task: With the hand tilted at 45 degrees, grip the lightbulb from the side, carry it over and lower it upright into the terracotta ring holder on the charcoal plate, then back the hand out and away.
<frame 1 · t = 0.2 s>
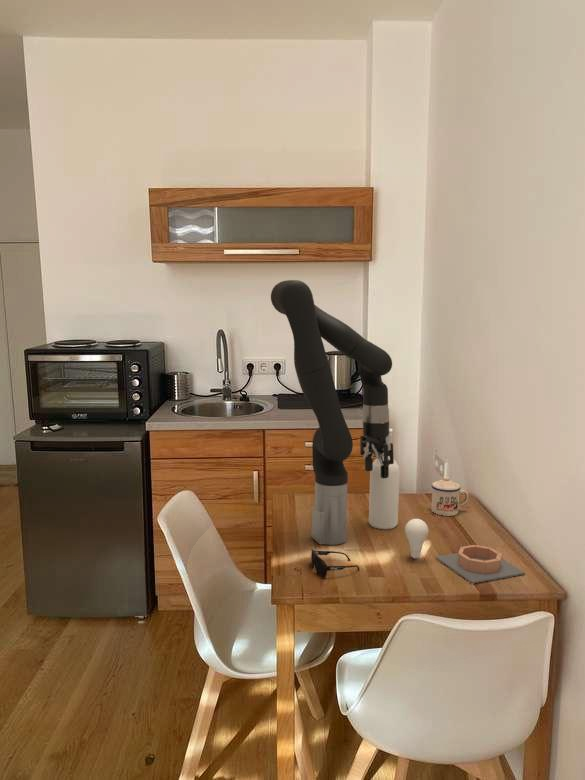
hand: (376, 474, 185), 18 cm above the table, tool pointing down, fingers open, 8 cm apart
lightbulb: (415, 559, 171), on the table
alcohol: (383, 525, 196), on the table
teacup with lid: (449, 512, 208), on the table
sunglasses: (334, 570, 165), on the table
ring holder: (479, 566, 167), on the table
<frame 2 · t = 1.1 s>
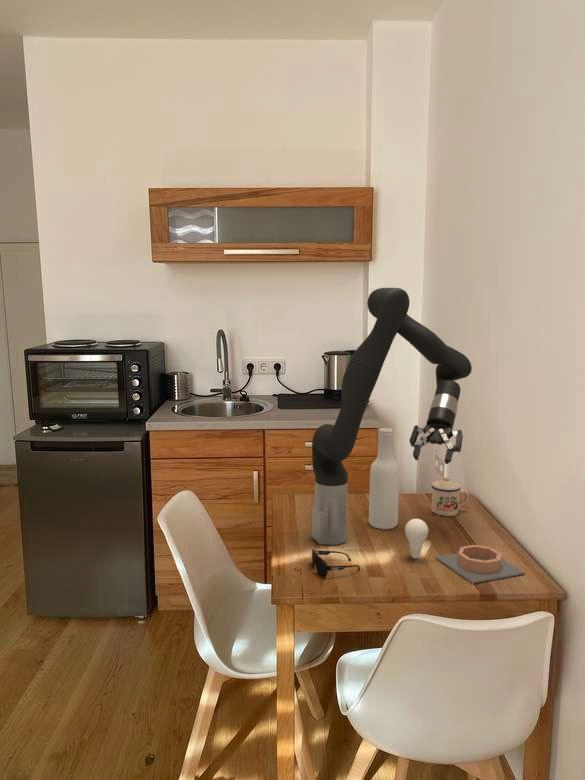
hand: (431, 460, 178), 24 cm above the table, tool tilted 45°, fingers open, 8 cm apart
nothing on the table moved.
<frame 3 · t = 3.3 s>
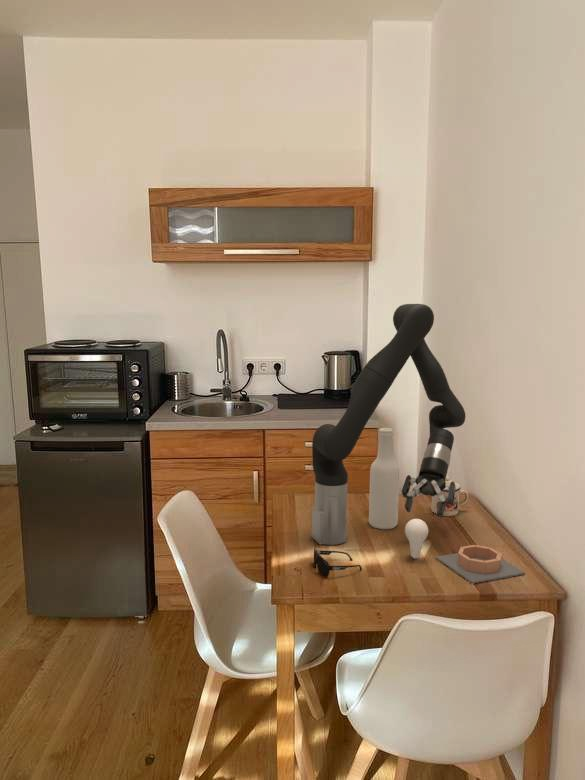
hand: (423, 513, 175), 11 cm above the table, tool tilted 45°, fingers open, 8 cm apart
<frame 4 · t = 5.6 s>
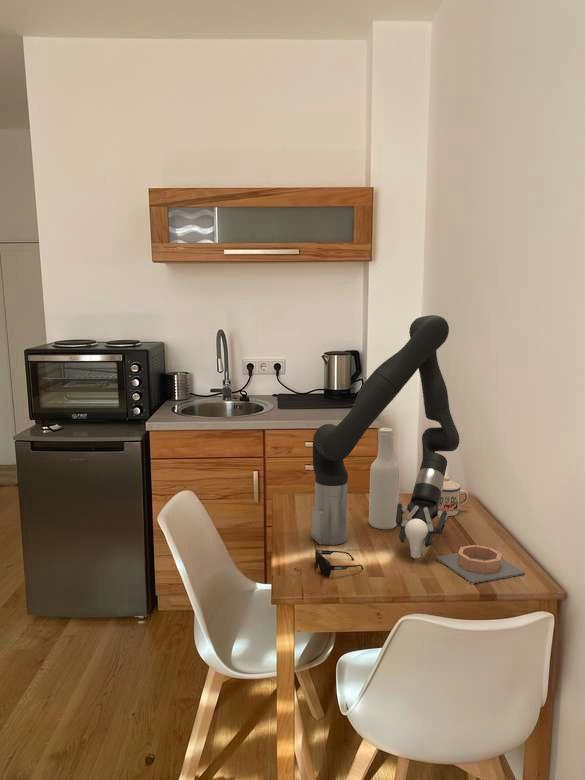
hand: (414, 543, 169), 5 cm above the table, tool tilted 45°, fingers closed on lightbulb, 6 cm apart
lightbulb: (415, 559, 171), on the table, touching gripper
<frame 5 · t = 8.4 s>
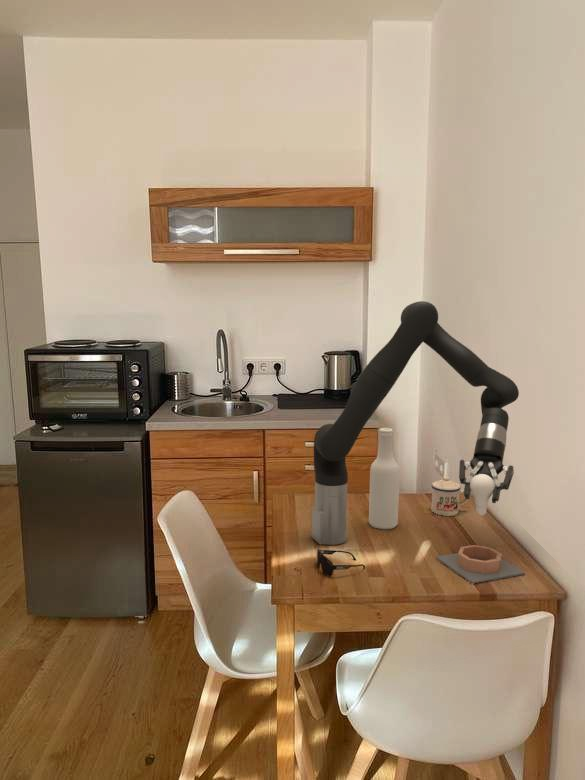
hand: (480, 499, 163), 19 cm above the table, tool tilted 45°, fingers closed on lightbulb, 6 cm apart
lightbulb: (480, 516, 165), point 14 cm above the table, touching gripper
when the fingers open (7 cm above the table, at t = 11.2 s): lightbulb drops 1 cm, resting on ring holder.
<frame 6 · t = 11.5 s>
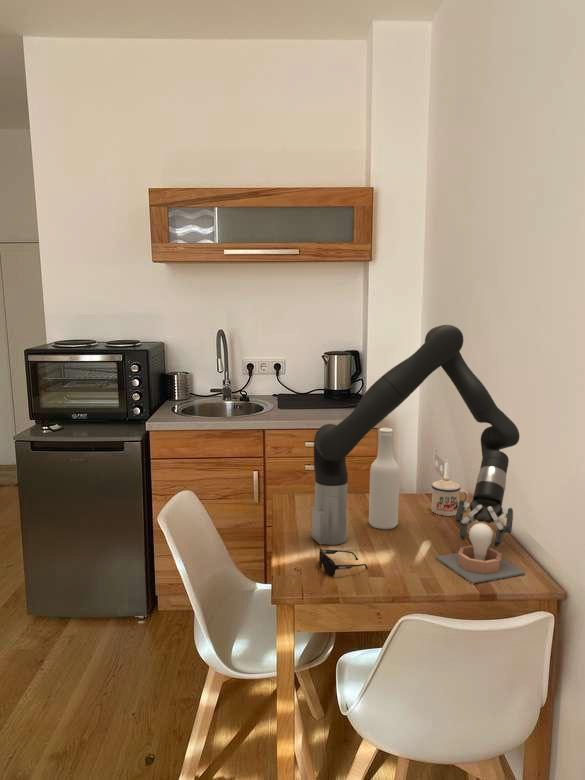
hand: (479, 542, 164), 7 cm above the table, tool tilted 45°, fingers open, 8 cm apart
lightbulb: (479, 564, 167), resting on ring holder
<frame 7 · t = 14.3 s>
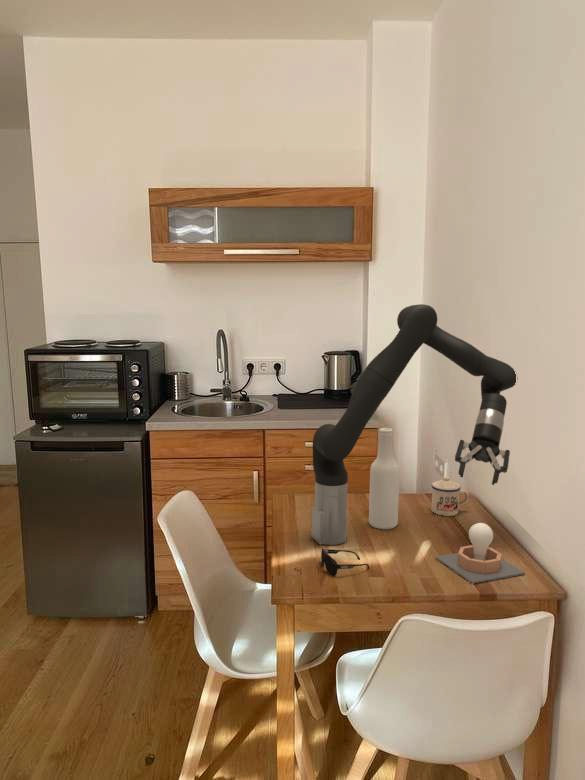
hand: (477, 480, 175), 20 cm above the table, tool tilted 40°, fingers open, 8 cm apart
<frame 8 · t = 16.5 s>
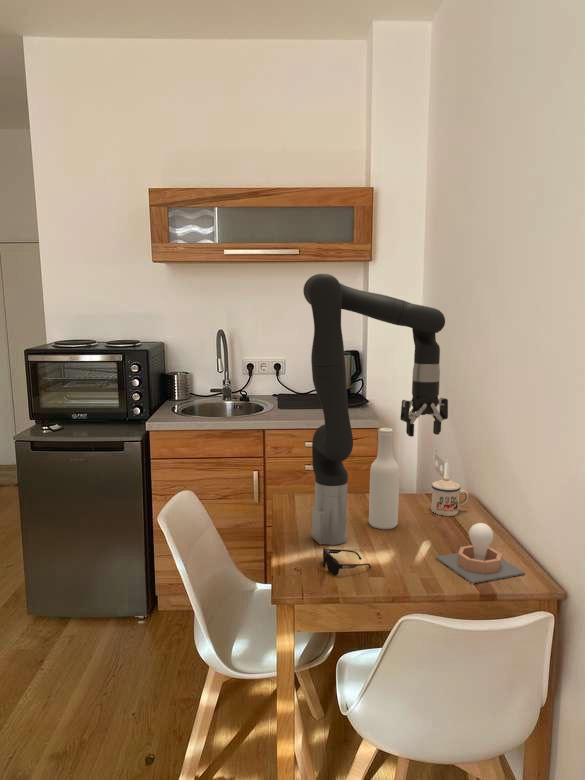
hand: (423, 435, 183), 30 cm above the table, tool pointing down, fingers open, 8 cm apart
at the end: lightbulb 0.3 cm off-centre on the ring holder, point 0.4 cm above the ring holder's base; lightbulb tilted 0°; the gripper is holding nothing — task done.
